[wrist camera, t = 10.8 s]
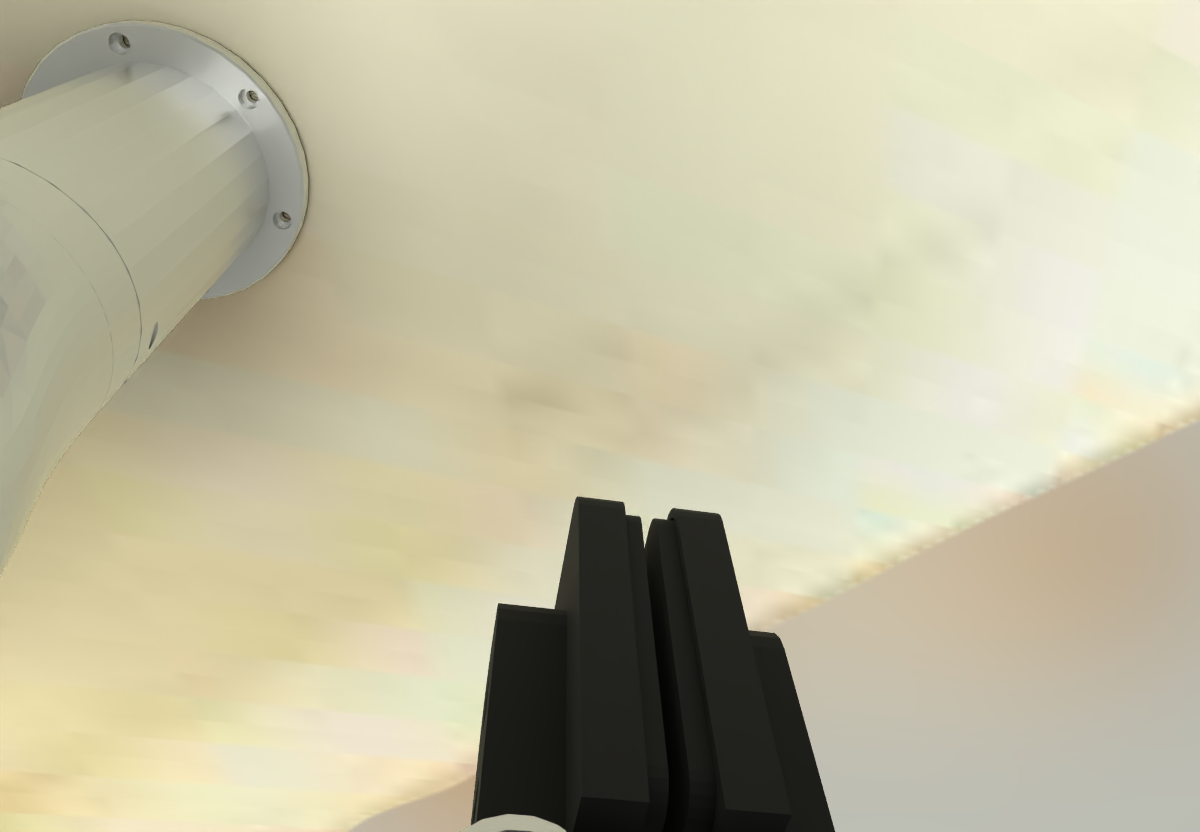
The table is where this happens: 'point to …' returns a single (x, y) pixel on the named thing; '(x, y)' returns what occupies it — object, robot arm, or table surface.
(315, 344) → the table surface
